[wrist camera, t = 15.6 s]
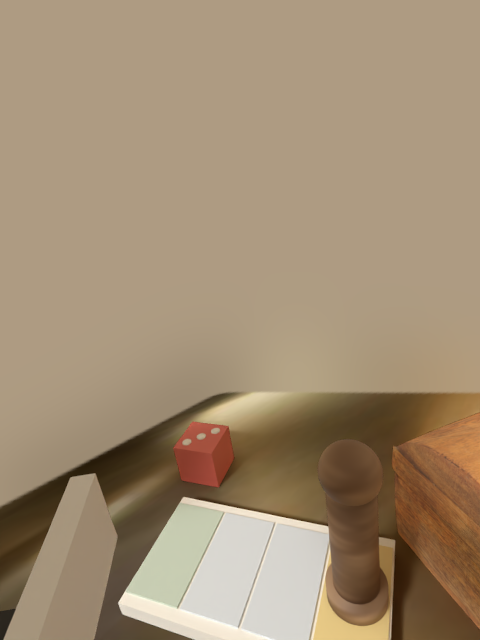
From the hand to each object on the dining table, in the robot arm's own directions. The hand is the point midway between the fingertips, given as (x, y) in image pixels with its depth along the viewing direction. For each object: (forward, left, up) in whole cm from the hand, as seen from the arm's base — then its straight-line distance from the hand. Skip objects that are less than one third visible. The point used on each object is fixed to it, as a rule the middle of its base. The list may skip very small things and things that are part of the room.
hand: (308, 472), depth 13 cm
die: (-20, +25, -26) cm, 41 cm away
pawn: (-1, +13, -24) cm, 27 cm away
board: (-9, +13, -26) cm, 30 cm away
